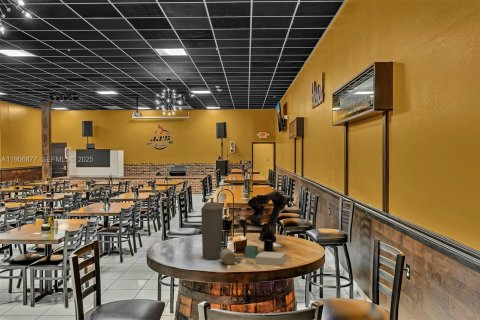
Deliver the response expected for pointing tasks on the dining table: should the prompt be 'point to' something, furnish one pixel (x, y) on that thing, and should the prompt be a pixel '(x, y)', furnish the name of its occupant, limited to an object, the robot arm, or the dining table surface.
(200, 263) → the dining table surface
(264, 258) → the grey base
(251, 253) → the teal block
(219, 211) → the canister
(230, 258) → the ceramic mug
